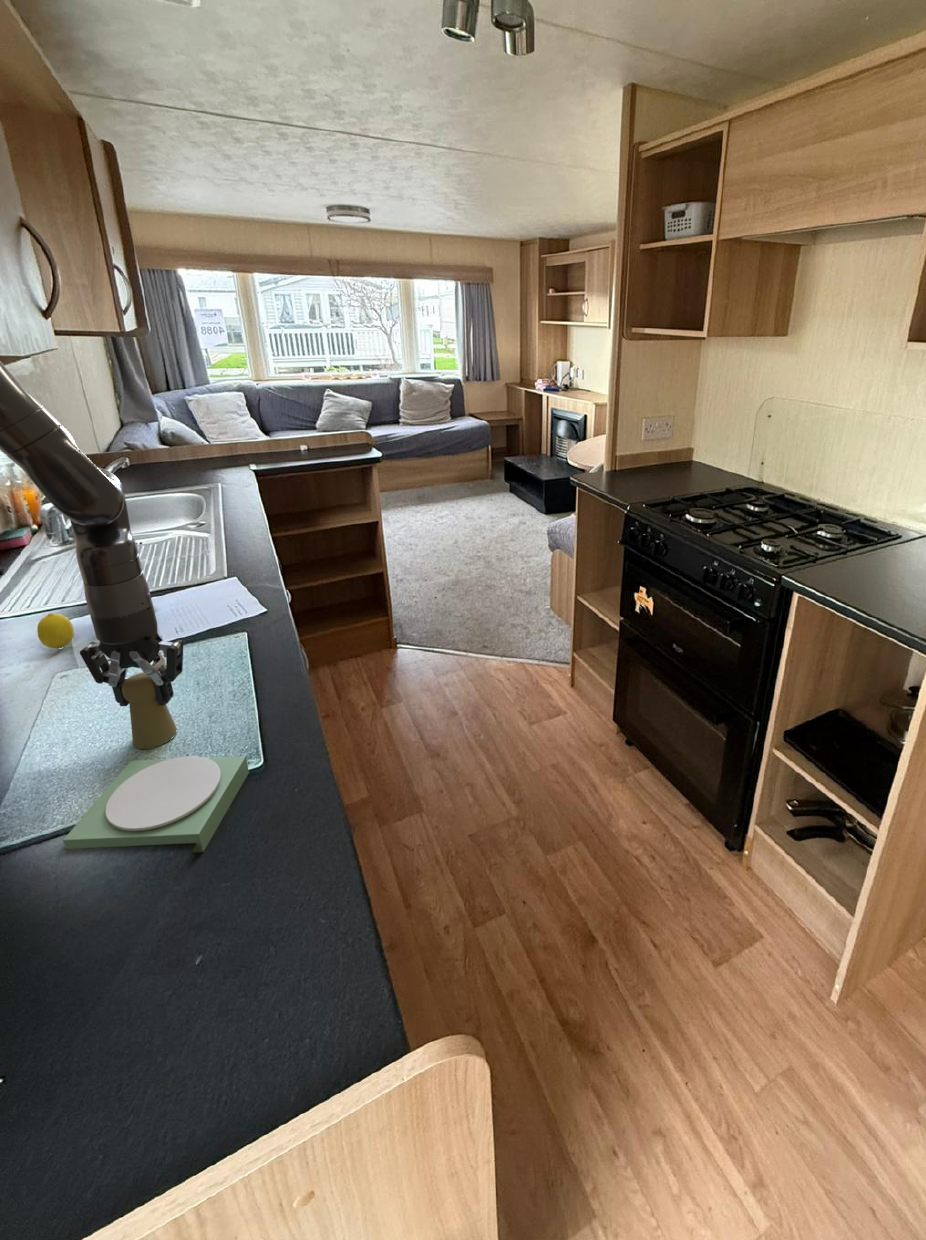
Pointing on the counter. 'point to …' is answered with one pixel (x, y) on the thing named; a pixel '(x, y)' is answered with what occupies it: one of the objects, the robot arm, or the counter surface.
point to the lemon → (55, 630)
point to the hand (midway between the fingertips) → (146, 702)
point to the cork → (147, 713)
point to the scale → (162, 803)
